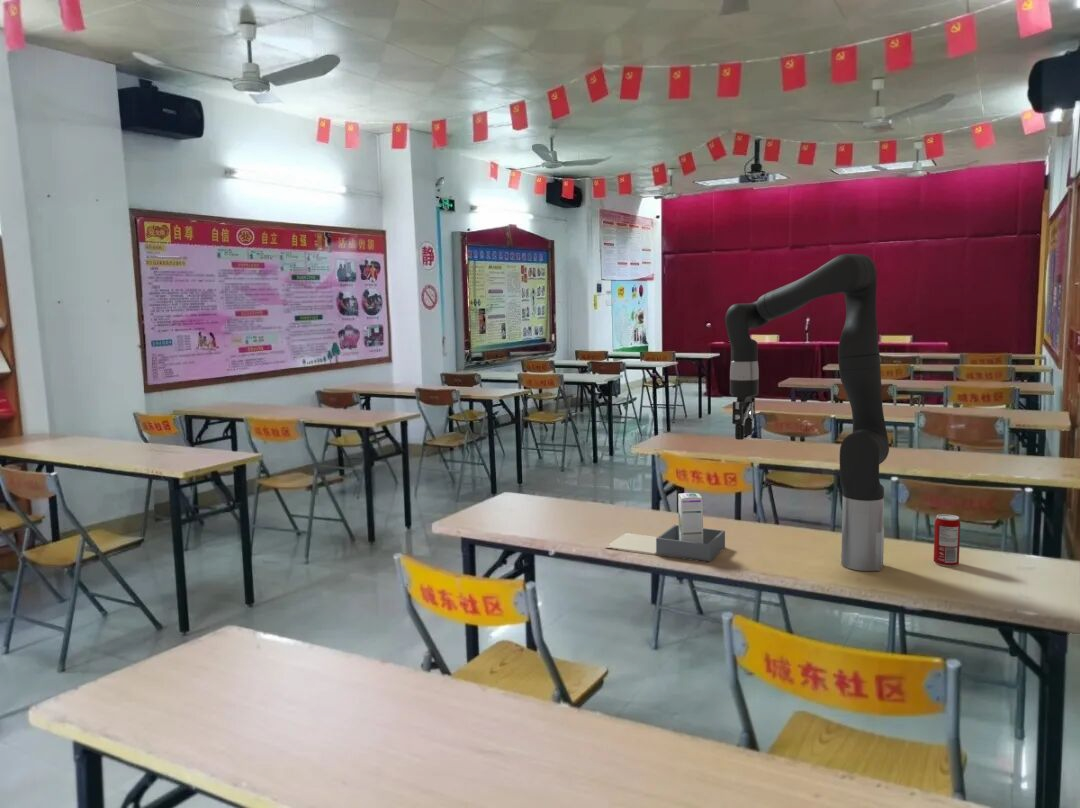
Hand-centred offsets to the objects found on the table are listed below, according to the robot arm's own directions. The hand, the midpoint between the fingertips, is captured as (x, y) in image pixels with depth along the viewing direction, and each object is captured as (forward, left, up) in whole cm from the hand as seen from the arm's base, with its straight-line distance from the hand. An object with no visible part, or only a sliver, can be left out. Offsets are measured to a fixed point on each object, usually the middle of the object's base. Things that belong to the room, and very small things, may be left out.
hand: (743, 437), depth 214 cm
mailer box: (+16, +18, -28) cm, 37 cm away
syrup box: (+9, +18, -28) cm, 34 cm away
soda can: (-50, +2, -28) cm, 57 cm away
